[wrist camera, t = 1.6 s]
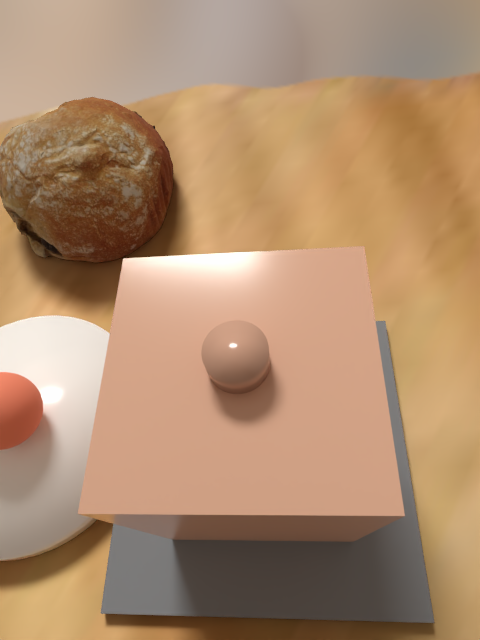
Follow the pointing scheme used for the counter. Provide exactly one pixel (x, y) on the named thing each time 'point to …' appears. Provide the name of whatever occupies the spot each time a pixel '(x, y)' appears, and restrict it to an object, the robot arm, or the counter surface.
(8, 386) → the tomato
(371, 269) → the counter surface
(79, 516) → the plate
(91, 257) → the bread roll
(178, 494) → the pink knobbed box
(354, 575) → the mat
